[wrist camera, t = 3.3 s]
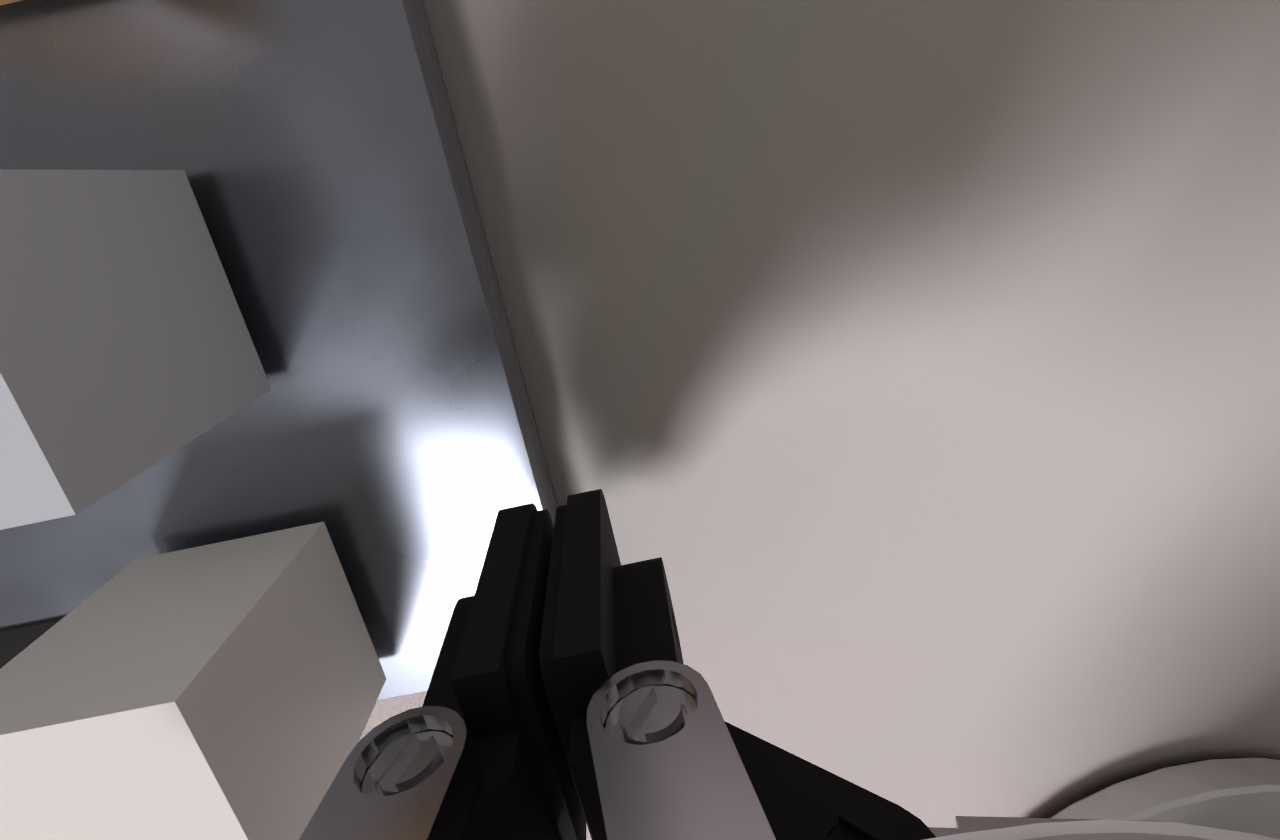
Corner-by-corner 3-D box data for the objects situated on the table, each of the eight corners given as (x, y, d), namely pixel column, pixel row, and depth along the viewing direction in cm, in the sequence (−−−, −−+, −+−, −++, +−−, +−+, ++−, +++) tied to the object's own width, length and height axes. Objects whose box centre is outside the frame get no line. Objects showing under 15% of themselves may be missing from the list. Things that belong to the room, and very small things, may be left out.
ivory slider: (323, 521, 12) (175, 701, 8) (386, 678, 14) (284, 907, 9) (135, 559, 13) (-107, 755, 8) (213, 711, 14) (35, 952, 10)
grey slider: (183, 169, 10) (-108, 169, 6) (271, 389, 12) (75, 514, 7) (-38, 219, 11) (-474, 250, 6) (70, 431, 12) (-236, 577, 8)
